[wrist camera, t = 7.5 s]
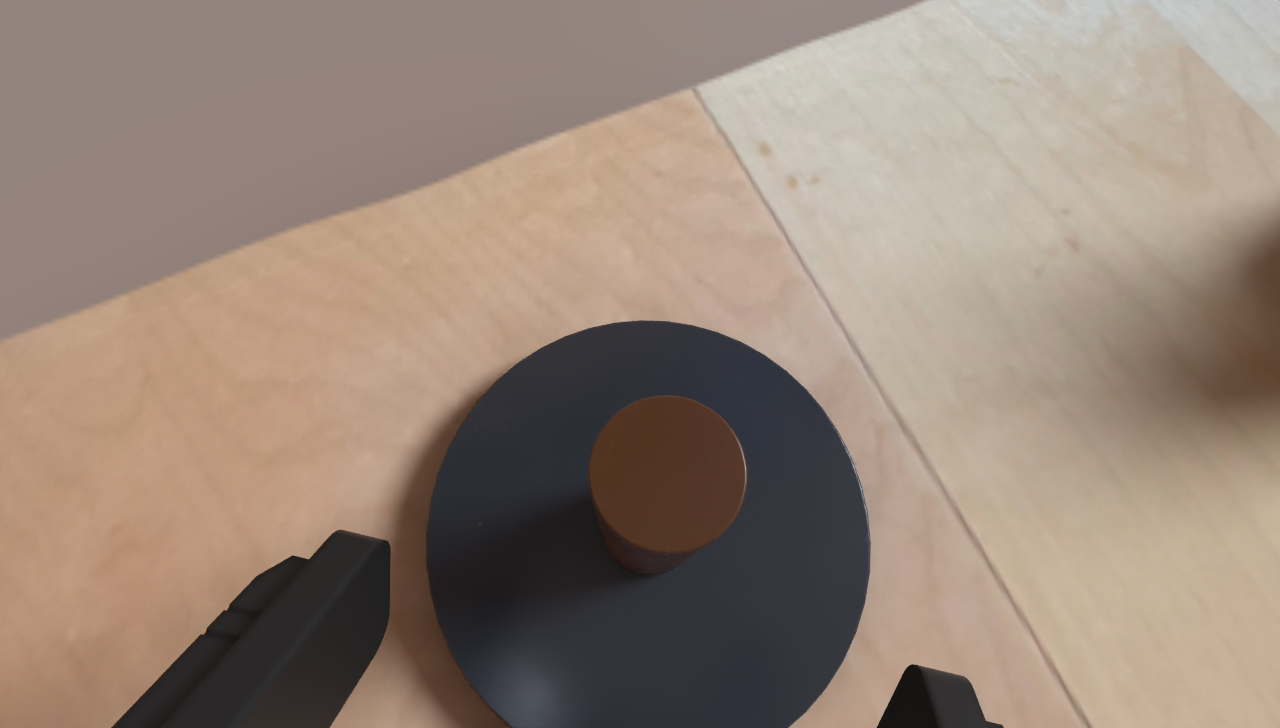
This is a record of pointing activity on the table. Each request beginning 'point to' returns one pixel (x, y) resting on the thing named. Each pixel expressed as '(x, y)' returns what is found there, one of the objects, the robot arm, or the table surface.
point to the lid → (648, 536)
